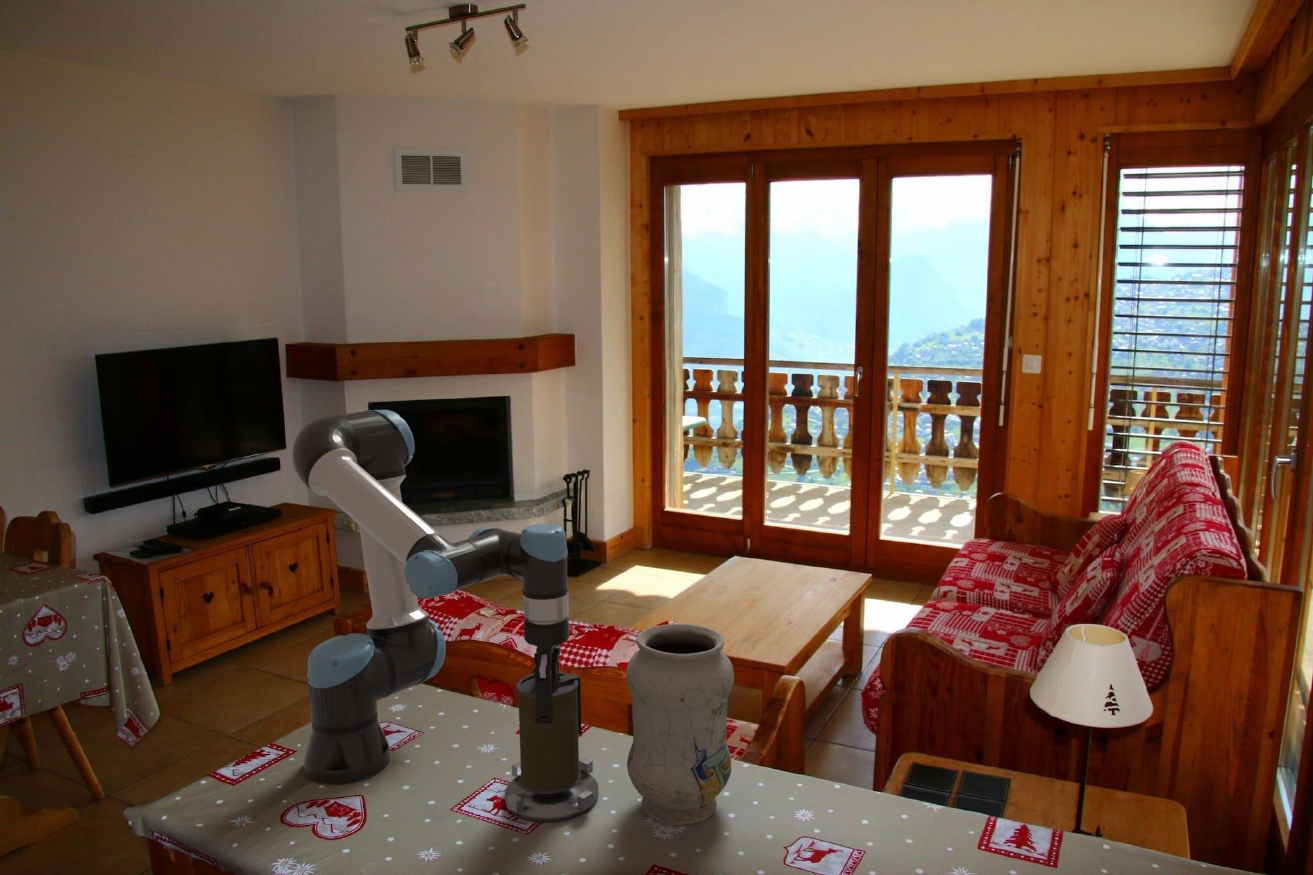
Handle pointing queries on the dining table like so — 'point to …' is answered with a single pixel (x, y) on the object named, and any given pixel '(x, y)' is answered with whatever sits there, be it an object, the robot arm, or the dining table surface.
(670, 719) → the vase
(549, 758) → the canister
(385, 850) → the dining table surface
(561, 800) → the flange
